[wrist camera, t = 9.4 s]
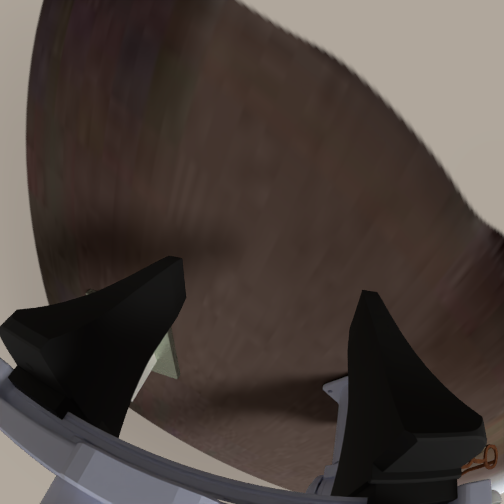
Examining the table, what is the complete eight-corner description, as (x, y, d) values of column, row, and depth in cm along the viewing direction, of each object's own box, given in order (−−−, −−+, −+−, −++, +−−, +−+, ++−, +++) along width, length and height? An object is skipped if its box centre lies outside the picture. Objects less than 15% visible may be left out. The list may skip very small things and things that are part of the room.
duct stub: (168, 311, 28) (147, 342, 24) (180, 374, 33) (165, 402, 29) (89, 288, 30) (66, 312, 26) (111, 350, 35) (94, 373, 31)
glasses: (497, 443, 30) (501, 466, 26) (445, 472, 37) (445, 493, 33) (458, 436, 30) (461, 465, 26) (400, 468, 37) (399, 492, 33)
